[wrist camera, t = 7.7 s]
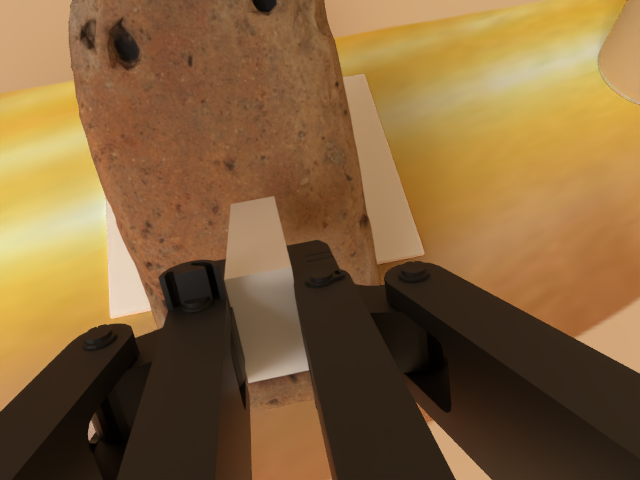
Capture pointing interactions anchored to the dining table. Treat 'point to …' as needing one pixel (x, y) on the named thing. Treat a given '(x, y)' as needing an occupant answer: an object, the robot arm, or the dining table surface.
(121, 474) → the robot arm
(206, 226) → the block
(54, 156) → the dining table surface
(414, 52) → the dining table surface
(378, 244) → the mat
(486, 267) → the dining table surface
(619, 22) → the coffee cup
